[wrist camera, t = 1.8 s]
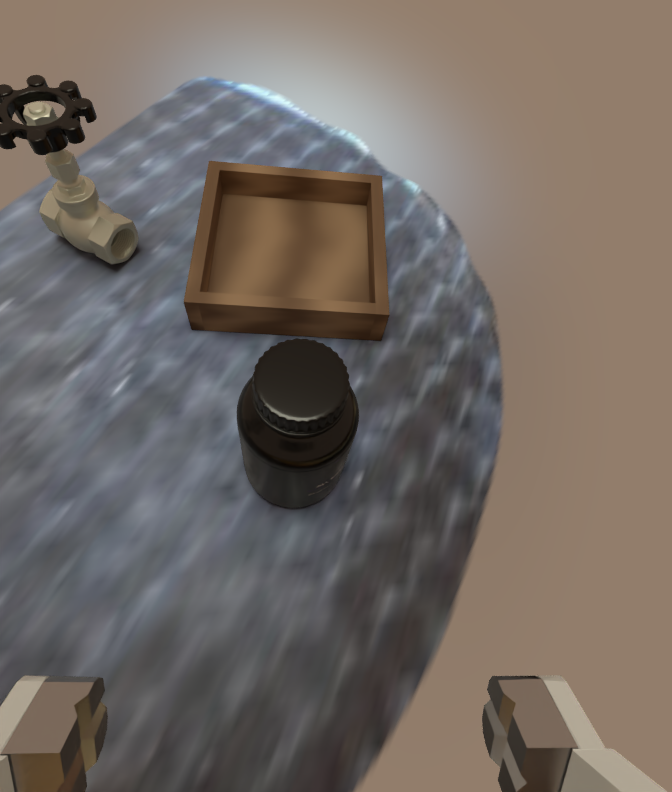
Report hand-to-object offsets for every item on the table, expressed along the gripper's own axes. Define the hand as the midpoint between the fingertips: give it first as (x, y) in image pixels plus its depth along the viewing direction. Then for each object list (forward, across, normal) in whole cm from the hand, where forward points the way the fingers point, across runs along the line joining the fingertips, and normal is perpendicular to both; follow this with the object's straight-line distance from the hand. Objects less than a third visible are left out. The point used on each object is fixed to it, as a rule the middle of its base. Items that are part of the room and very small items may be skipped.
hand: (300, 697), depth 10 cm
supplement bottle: (+24, +1, +6) cm, 24 cm away
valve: (+37, +18, -7) cm, 41 cm away
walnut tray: (+36, +2, -7) cm, 37 cm away
